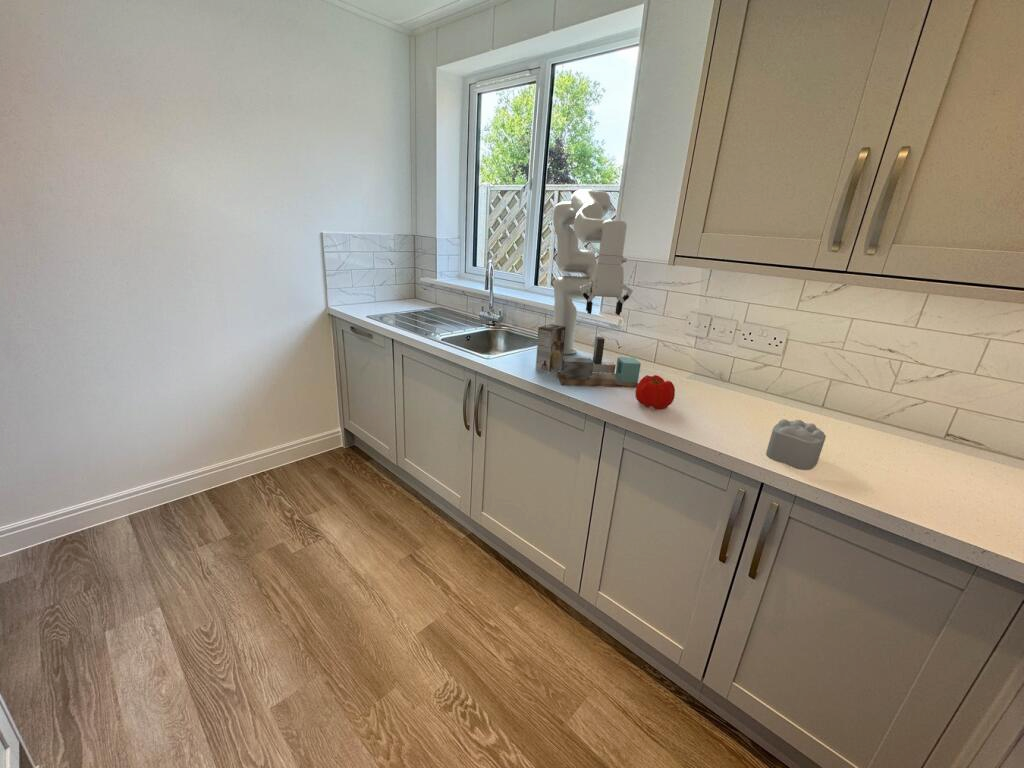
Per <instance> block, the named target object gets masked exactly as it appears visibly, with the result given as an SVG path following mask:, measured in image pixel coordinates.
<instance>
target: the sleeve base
mask: <svg viewBox="0 0 1024 768" xmlns="http://www.w3.org/2000/svg"><path fill="white" fill-rule="evenodd" d="M593 365H594V362H593V359H592V358H587V357H585V358H584V357H565V356H563V358H562V368H560V369H561V370H560V371H559V370H556V376H557V378H559V379H558V381H559V382H560V385H561V386H569V385H572V386H573V385H574V387H596V386H604V387H603V388H605V387H606V388H623V389H624V388H627V389H628V388H629V389H636V388H637V385H638V383H639V382H638V383H628V382H620V381H619V380H618V378H617V377H616V376H615V374H616V373H593Z"/></svg>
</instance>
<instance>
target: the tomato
mask: <svg viewBox="0 0 1024 768" xmlns="http://www.w3.org/2000/svg"><path fill="white" fill-rule="evenodd" d="M675 393H676V389H675V385H674V384H673V381H670V380H666V381H665V379H664V378H663V377H661V376H660V375H656V374H654V375H645V376H643V377H642V378H641V379H640V380H639V381H638V385H637V388H635V398H636V400H637V402H638V403H639V404H640V405H642V406H644V407H645V408H653V409H655V410H658V411H661V410H665V409H667V408H668V407H670V405H672V404H673V402H674V400H675V396H676V394H675Z"/></svg>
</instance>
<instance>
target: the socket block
mask: <svg viewBox="0 0 1024 768" xmlns="http://www.w3.org/2000/svg"><path fill="white" fill-rule="evenodd" d="M616 361H617V362H616V366H615V373H614V374H615V376H616V377H617V378H618V380H619V381H620V382H628V383H639V379H640V378H639V377H640V372H641V362H640V361H639V360H637V359H636V357H628V356H627V357H625V356H623V357H622V356H618V357H617V360H616Z"/></svg>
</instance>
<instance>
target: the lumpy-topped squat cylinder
mask: <svg viewBox="0 0 1024 768" xmlns="http://www.w3.org/2000/svg"><path fill="white" fill-rule="evenodd" d="M826 437H827V435H826V434H825V432H824V431H823V430H822V429H820V428H819V427H817V425H816V424H815V423H806V422H804V421H803V420H801V419H796V420H788V419H785V418H784V419H781V420H779V421H778V423H776V424H775V425H774V426H773V428H772V431H771V434H770V437H769V442H768V444H767V449H766V451H765V455H766V457H767V458H768V459H770V460H772V461H774V462H778V463H781V464H783V465H787V466H788V467H792V468H793V469H796V470H801V471H811V470H812V469H813V468H814V467H816V466H817V464H818V463H819V459H820V457H821V452H822V451H823V446H824V444H825V441H826Z"/></svg>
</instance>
